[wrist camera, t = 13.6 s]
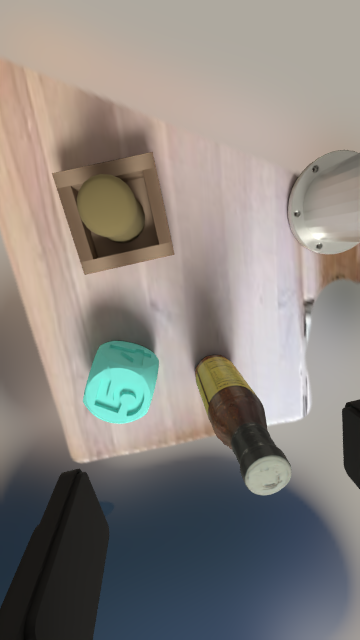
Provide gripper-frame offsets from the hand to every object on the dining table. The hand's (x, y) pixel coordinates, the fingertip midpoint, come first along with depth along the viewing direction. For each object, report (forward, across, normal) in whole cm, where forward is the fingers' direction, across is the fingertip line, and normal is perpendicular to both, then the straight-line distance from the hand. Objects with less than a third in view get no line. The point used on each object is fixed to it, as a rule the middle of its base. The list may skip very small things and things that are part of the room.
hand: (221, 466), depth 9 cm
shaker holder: (+28, +4, -12) cm, 31 cm away
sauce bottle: (+28, -4, +12) cm, 31 cm away
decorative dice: (+29, +9, +8) cm, 31 cm away
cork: (+28, +4, -12) cm, 30 cm away
